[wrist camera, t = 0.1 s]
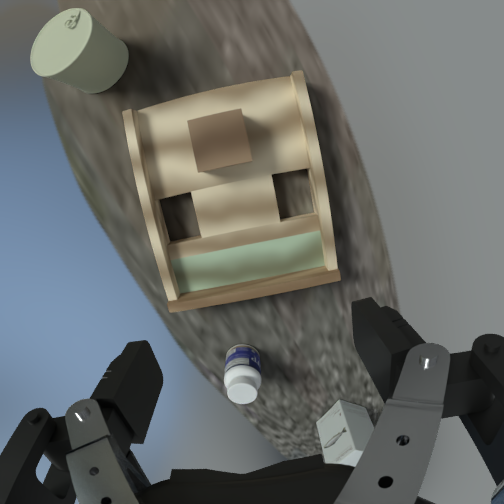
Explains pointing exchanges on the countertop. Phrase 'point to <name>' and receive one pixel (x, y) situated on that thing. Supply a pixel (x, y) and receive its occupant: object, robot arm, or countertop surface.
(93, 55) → the can
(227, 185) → the board
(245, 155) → the block
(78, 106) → the countertop surface
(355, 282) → the countertop surface
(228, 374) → the pill bottle
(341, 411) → the supplement box
